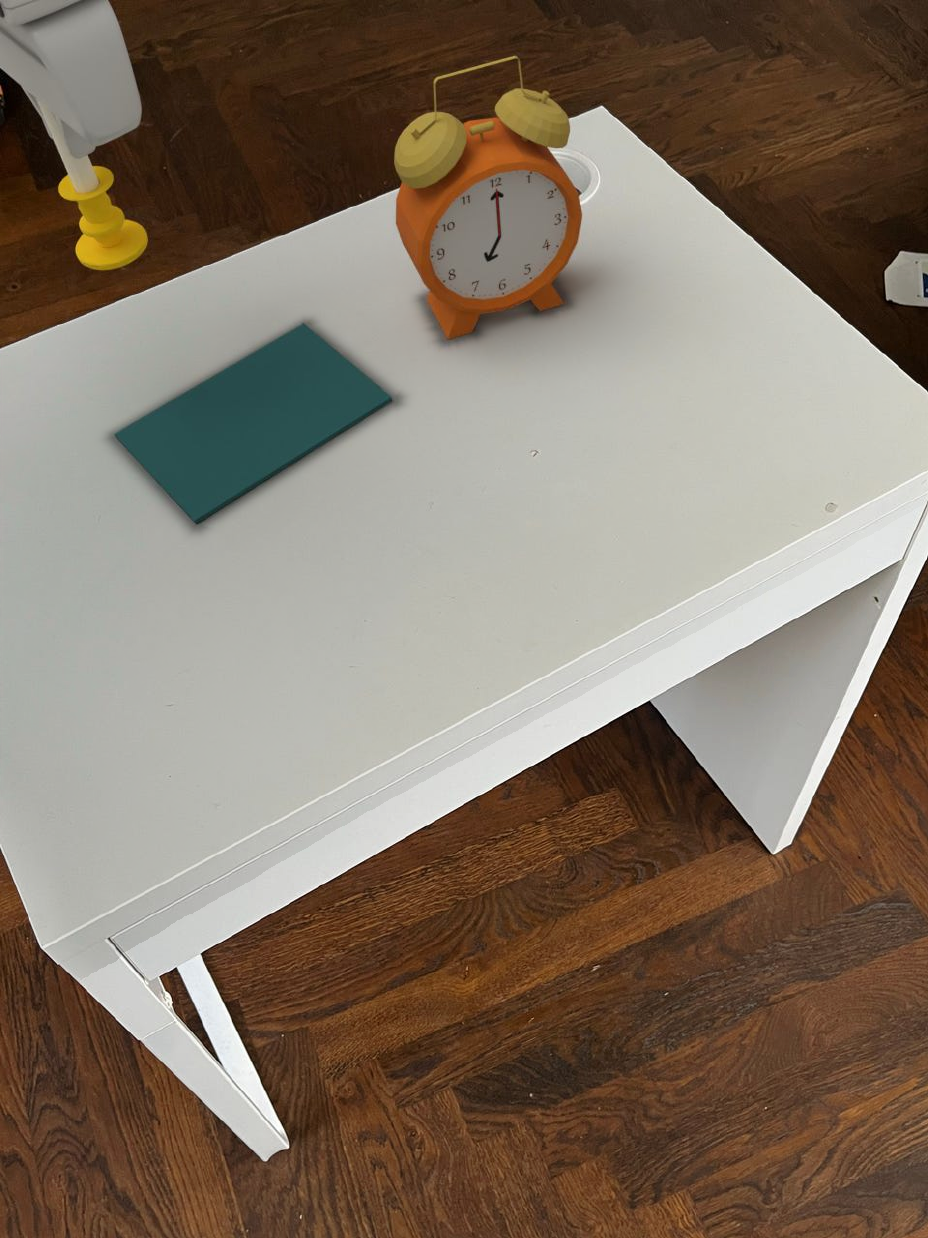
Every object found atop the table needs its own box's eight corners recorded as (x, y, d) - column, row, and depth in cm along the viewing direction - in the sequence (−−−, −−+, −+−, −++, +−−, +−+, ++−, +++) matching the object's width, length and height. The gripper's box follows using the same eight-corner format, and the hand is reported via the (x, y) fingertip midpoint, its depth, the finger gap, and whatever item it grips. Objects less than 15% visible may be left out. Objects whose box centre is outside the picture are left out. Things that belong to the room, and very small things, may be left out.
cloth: (195, 524, 83) (194, 520, 83) (115, 437, 89) (113, 433, 89) (392, 400, 89) (391, 396, 88) (304, 326, 95) (303, 322, 94)
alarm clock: (431, 349, 92) (398, 117, 75) (407, 303, 95) (371, 71, 79) (585, 302, 93) (585, 65, 77) (556, 258, 97) (551, 22, 80)
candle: (63, 255, 84) (-35, 47, 71) (116, 216, 86) (30, 7, 73) (109, 279, 82) (17, 69, 69) (162, 239, 84) (83, 27, 71)
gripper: (-131, -106, 71) (-33, 105, 82) (16, 8, 61) (105, 231, 72) (-38, -142, 73) (46, 69, 84) (119, -37, 63) (190, 187, 74)
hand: (74, 145), depth 78 cm, fingers closed on candle
